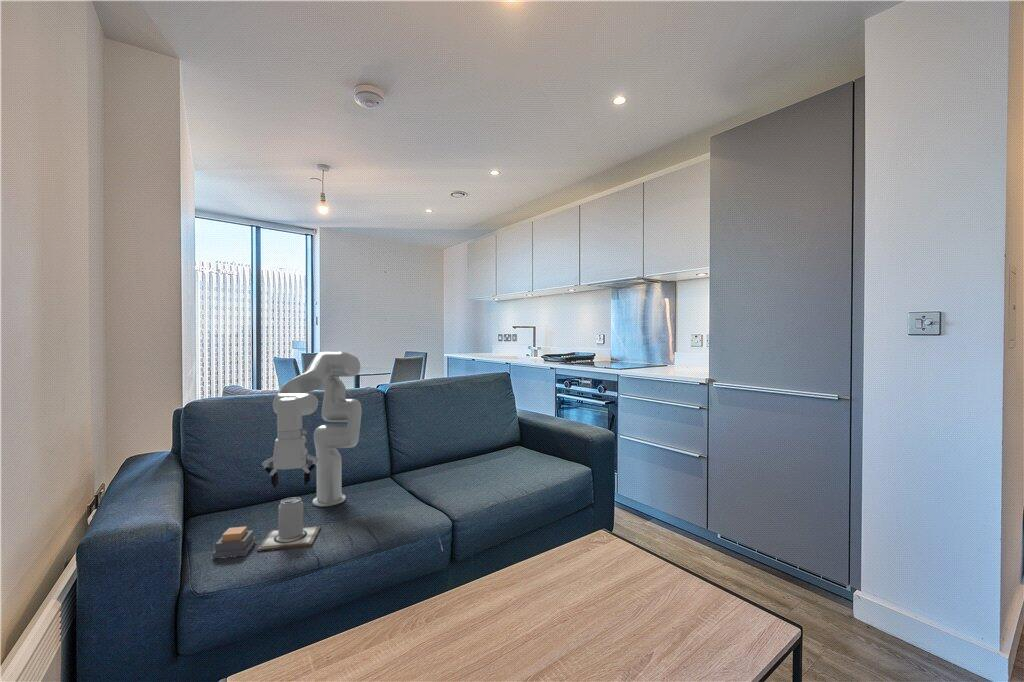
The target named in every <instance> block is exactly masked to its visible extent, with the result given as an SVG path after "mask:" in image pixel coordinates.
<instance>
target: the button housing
mask: <svg viewBox="0 0 1024 682" xmlns="http://www.w3.org/2000/svg"><path fill="white" fill-rule="evenodd" d="M256 540H257V538H256V536H254V530H253V529H252V530H247V535H246V536H245V537H244V538H243V539H242V540H238V541H226V542H222V536H221V537H220V539H218V540H217V542H215V544H214V545H215V547H214V551H213V552H212V560H215V559H214V558H221V557H231V556H232V557H233V558H235V557H234V556H243V557H246V556H247V555H248V554H249V552H250V551H251V550H250V548H251V547H252V546H253V545H254V543H255V542H257V541H256ZM255 544H256V543H255ZM254 546H255V545H254ZM254 546H253V547H254ZM253 547H252V548H253ZM249 550H250V551H249ZM248 551H249V552H248ZM247 553H248V554H247ZM246 554H247V555H246Z"/></svg>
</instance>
